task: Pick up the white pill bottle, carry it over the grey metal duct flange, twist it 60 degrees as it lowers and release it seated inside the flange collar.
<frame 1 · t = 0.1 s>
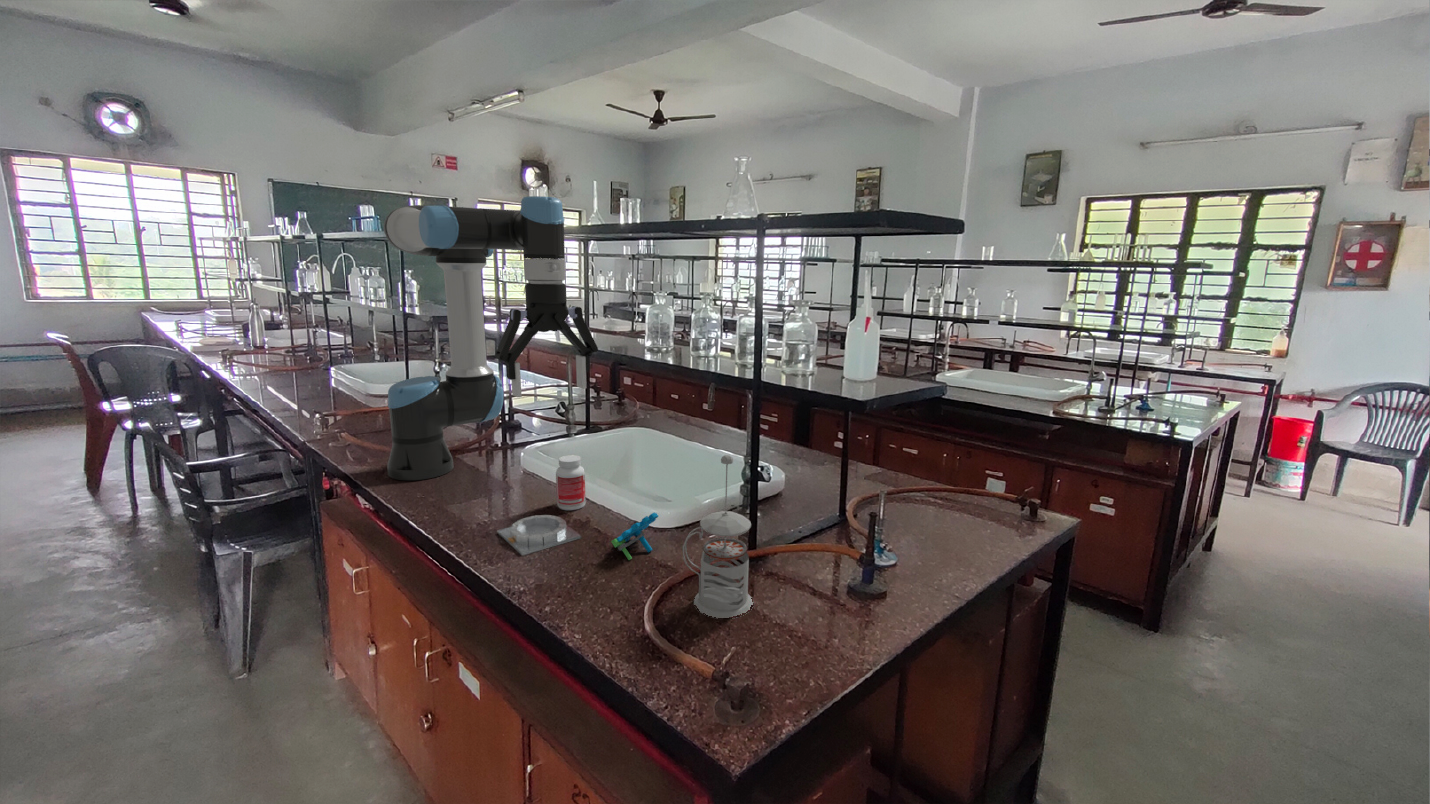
hand: (550, 391, 123), 28 cm above the counter, fingers open, 13 cm apart
pill bottle: (571, 506, 139), on the counter
french press: (718, 602, 102), on the counter
blue knobbed piece: (634, 550, 119), on the counter
duct flange: (539, 535, 124), on the counter
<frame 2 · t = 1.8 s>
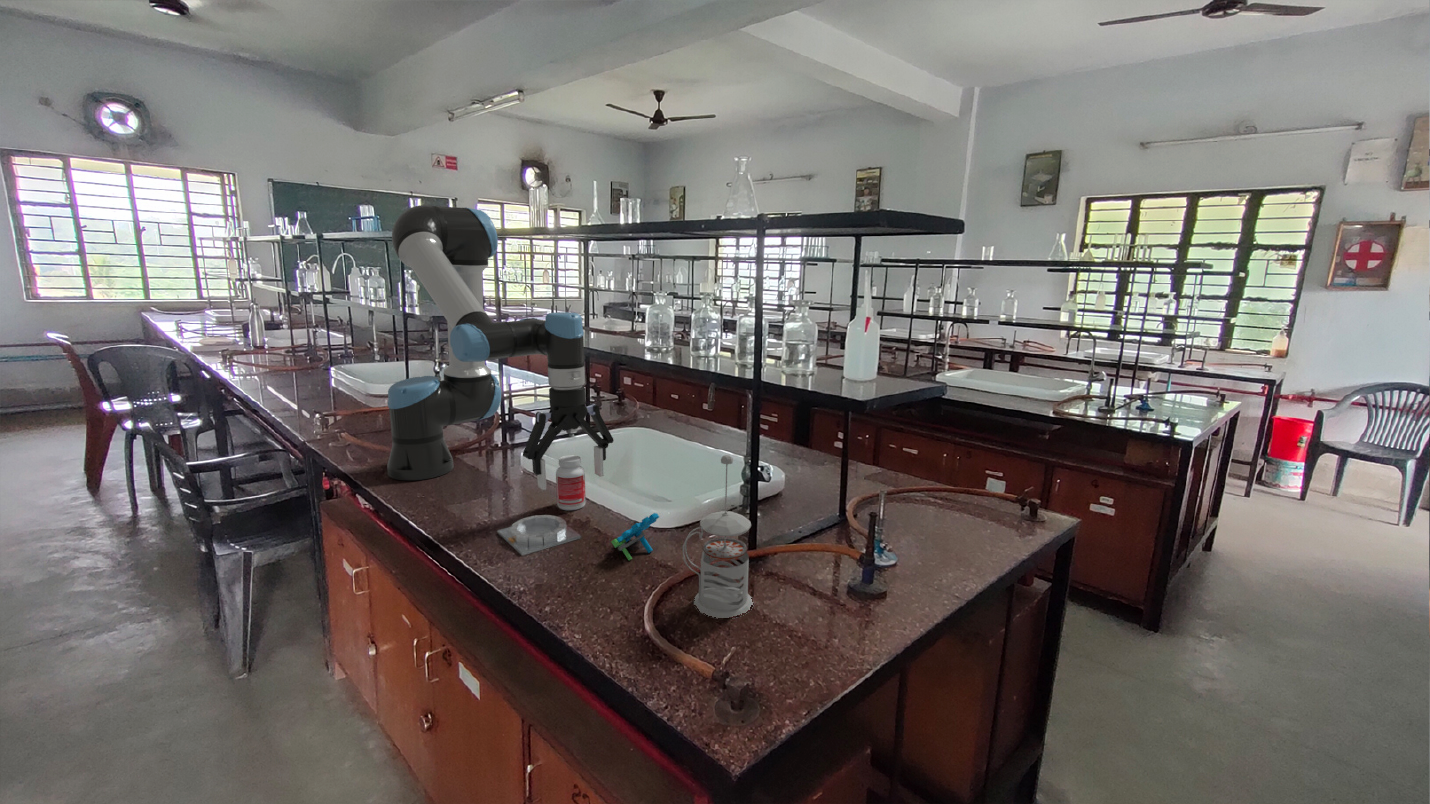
hand: (571, 481, 137), 6 cm above the counter, fingers open, 13 cm apart
nothing on the counter moved.
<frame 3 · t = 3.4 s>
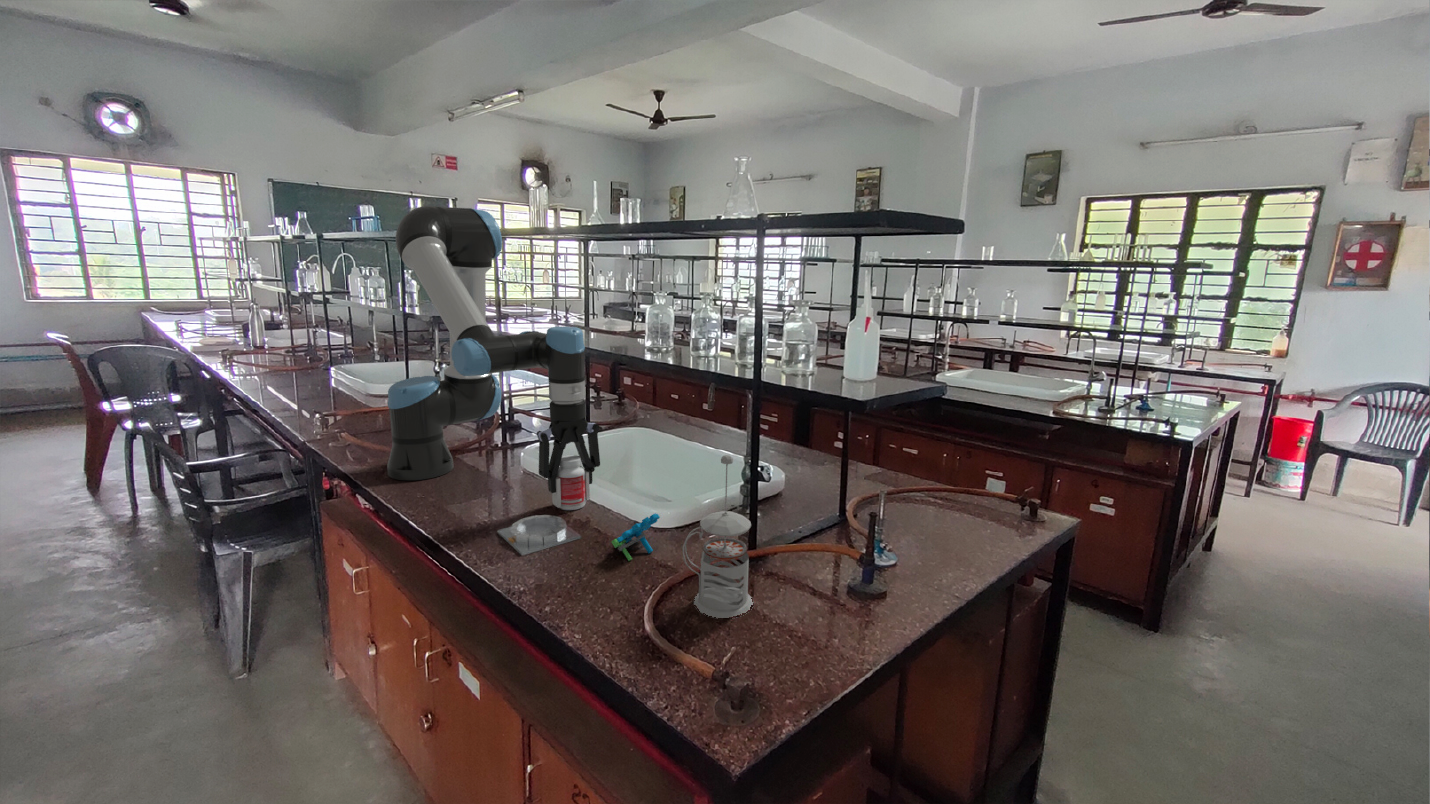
hand: (571, 501, 138), 1 cm above the counter, fingers closed on pill bottle, 6 cm apart
pill bottle: (571, 506, 139), on the counter, touching gripper
everything else where it was.
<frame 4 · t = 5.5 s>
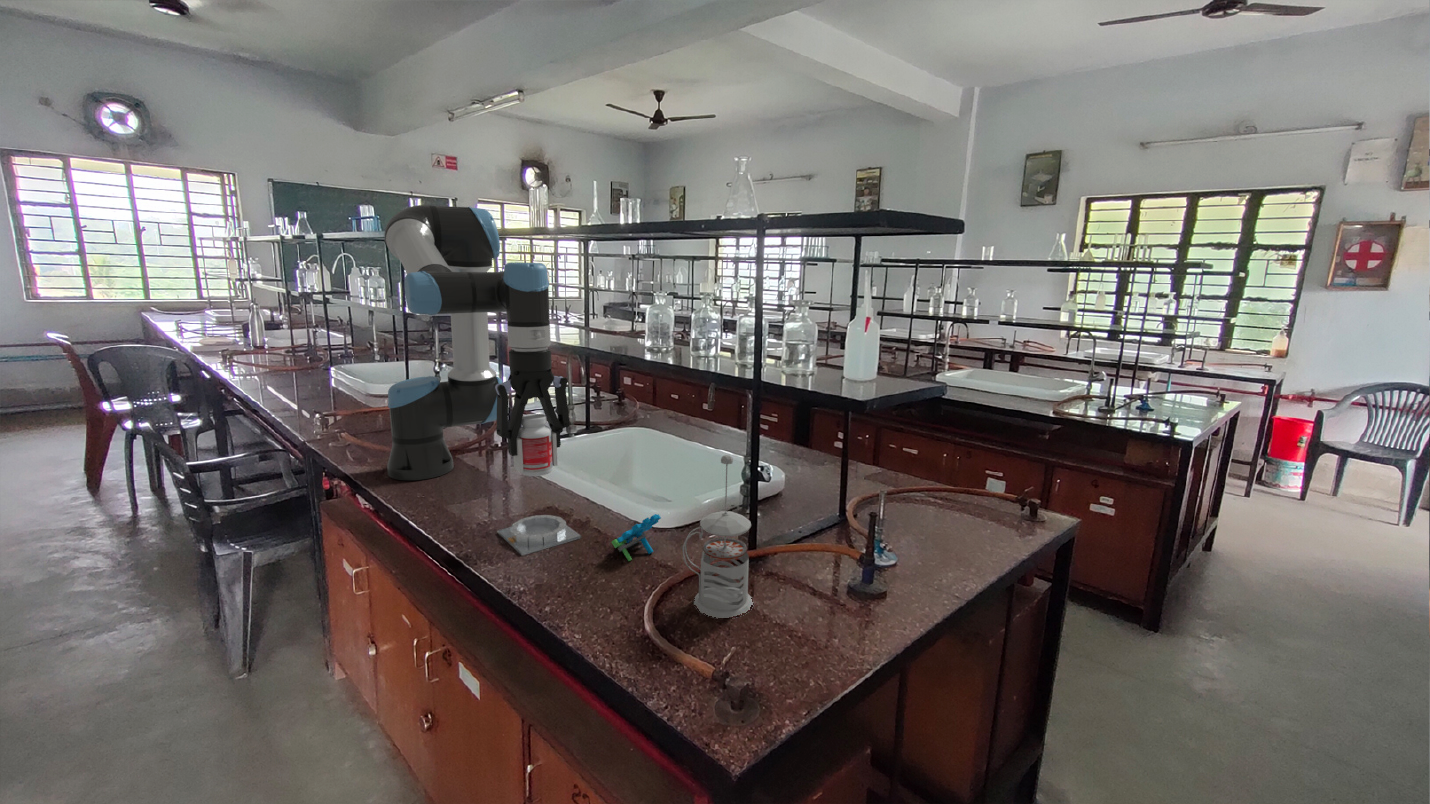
hand: (536, 467, 120), 14 cm above the counter, fingers closed on pill bottle, 6 cm apart
pill bottle: (536, 472, 121), point 13 cm above the counter, touching gripper
everything else where it was.
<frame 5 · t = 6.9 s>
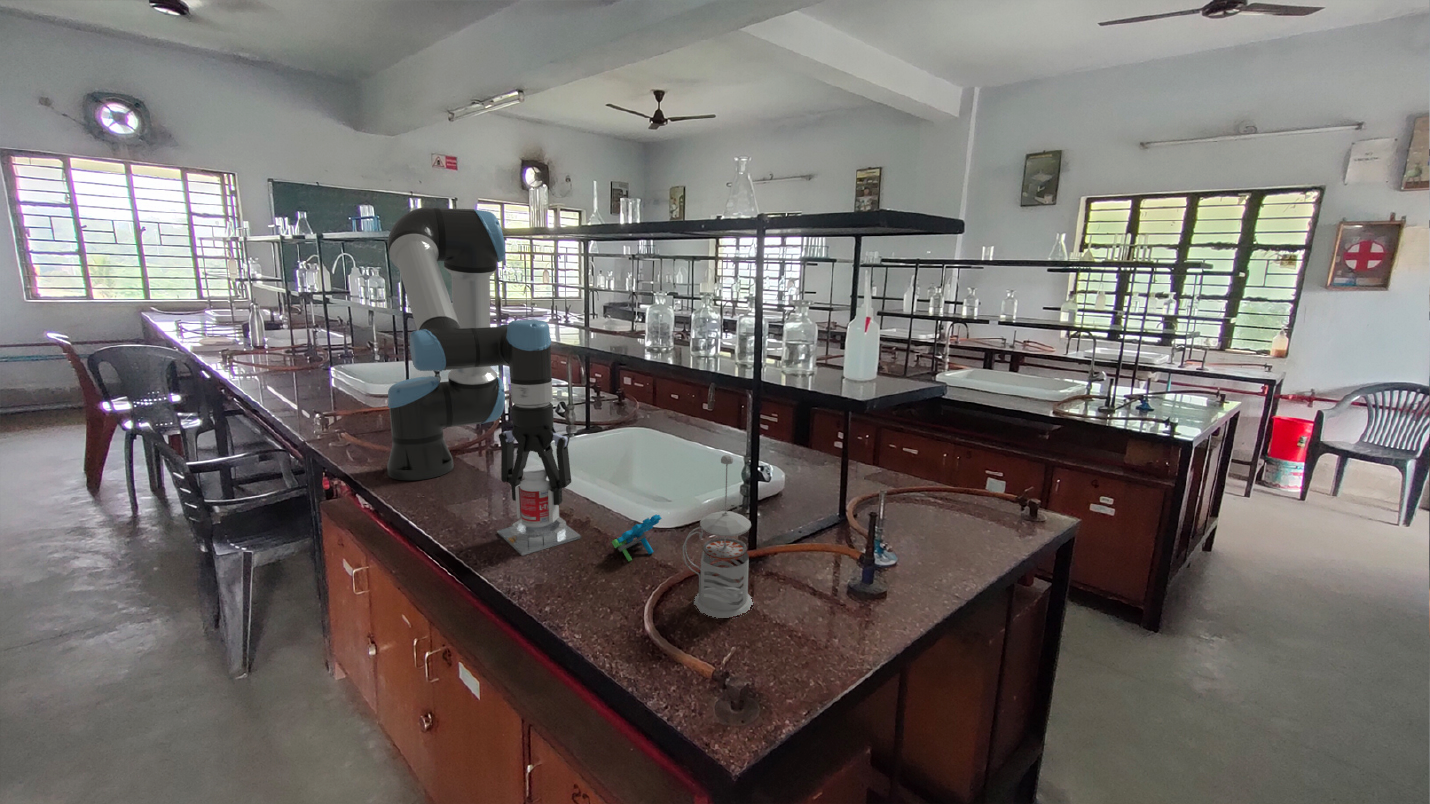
hand: (538, 517, 123), 4 cm above the counter, fingers closed on pill bottle, 6 cm apart
pill bottle: (538, 523, 123), point 3 cm above the counter, touching gripper
everything else where it was.
when the fingers open (4 cm above the counter, at t = 7.6 s): pill bottle drops 2 cm, resting on duct flange.
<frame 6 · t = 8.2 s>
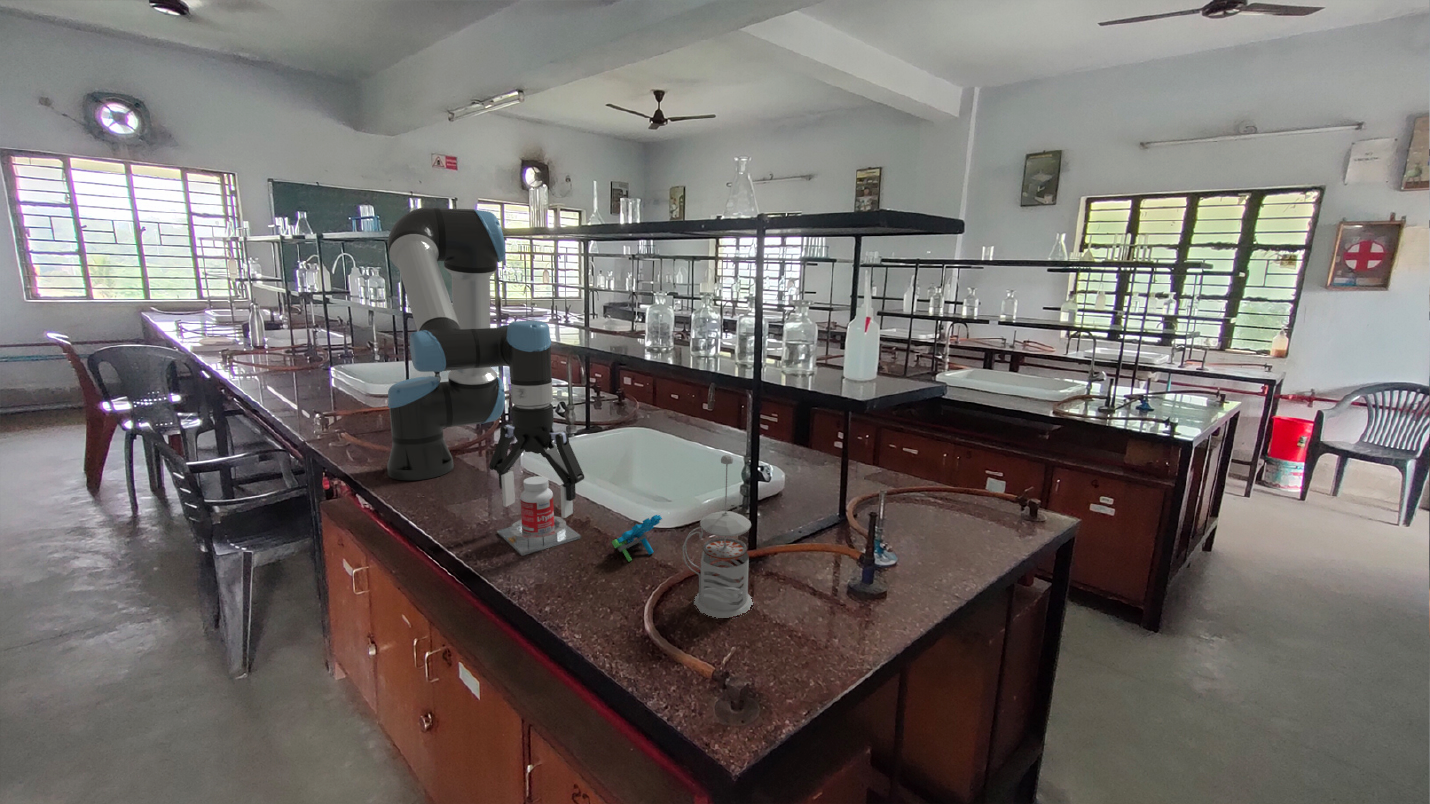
hand: (537, 509, 122), 5 cm above the counter, fingers open, 13 cm apart
pill bottle: (538, 533, 124), resting on duct flange
everything else where it was.
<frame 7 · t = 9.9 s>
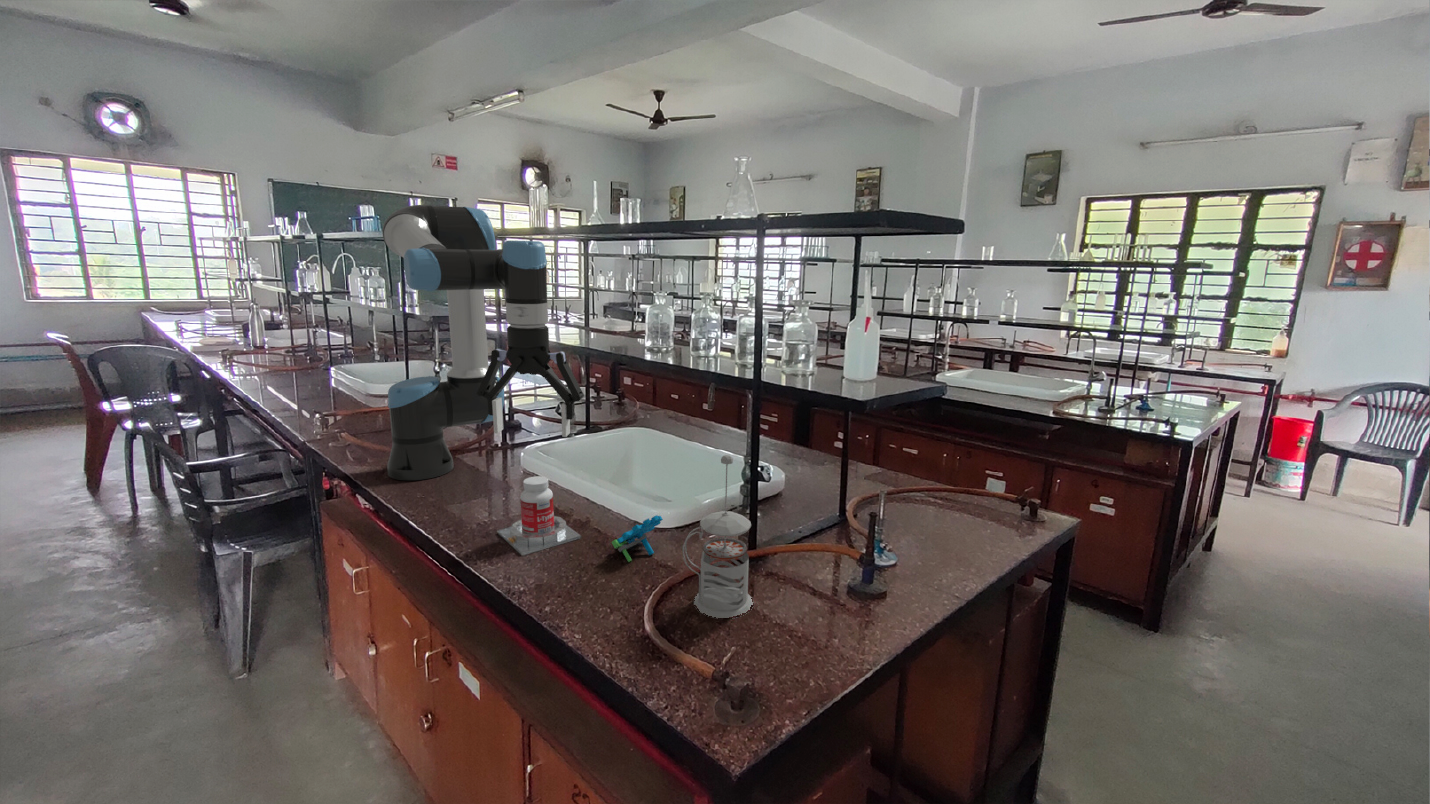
hand: (532, 433, 123), 20 cm above the counter, fingers open, 13 cm apart
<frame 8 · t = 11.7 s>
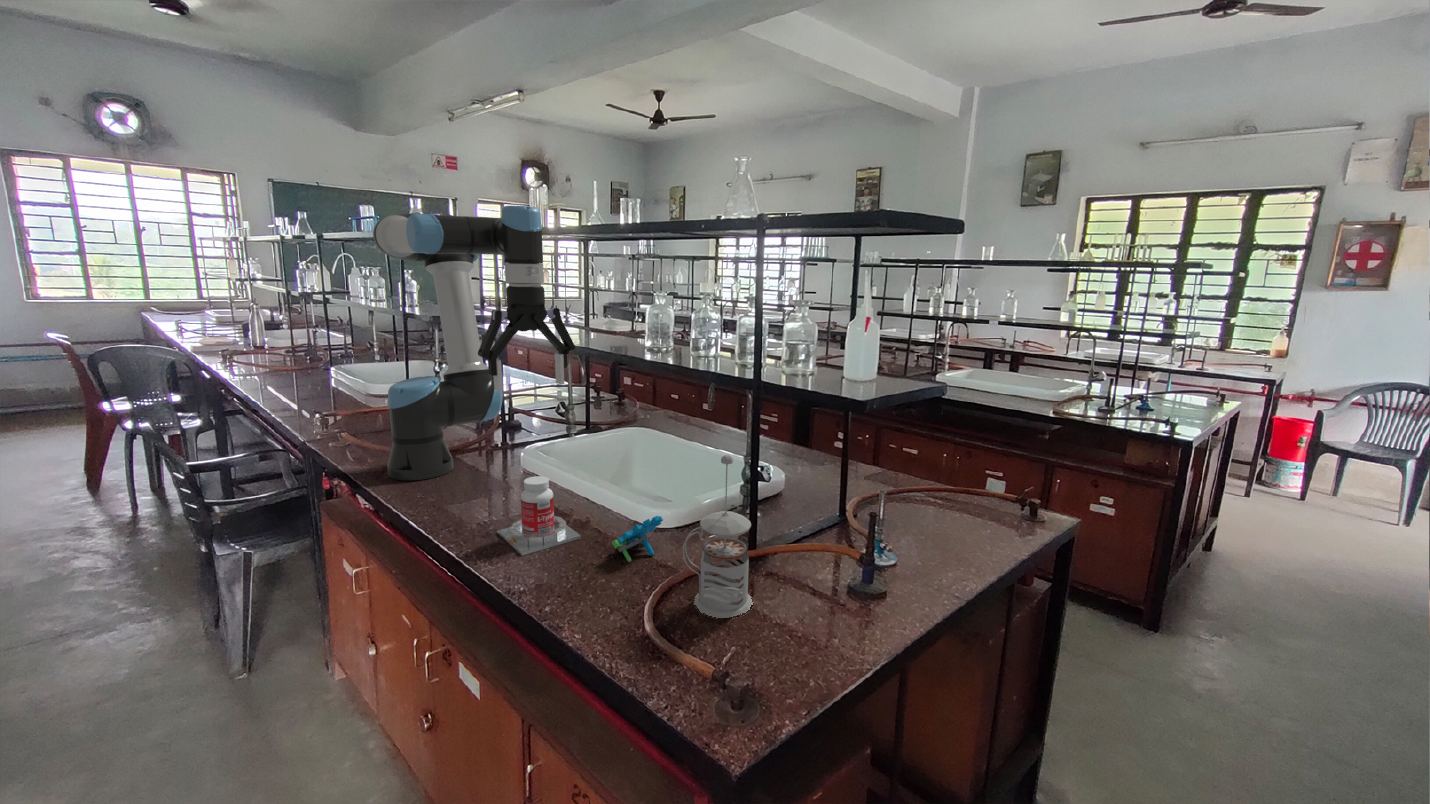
hand: (530, 387, 132), 27 cm above the counter, fingers open, 13 cm apart
at the end: pill bottle 0.1 cm off-centre on the duct flange, point 0.4 cm above the duct flange's base; pill bottle tilted 0°; the gripper is holding nothing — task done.
